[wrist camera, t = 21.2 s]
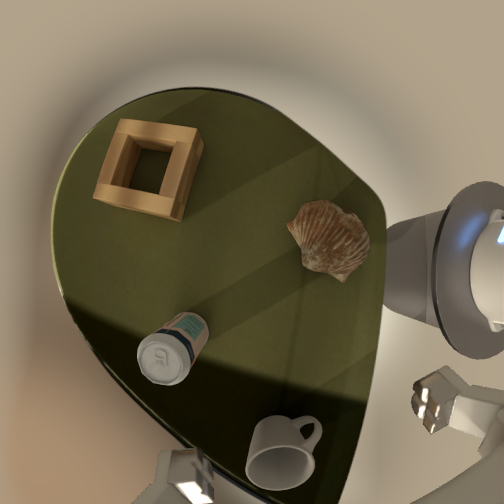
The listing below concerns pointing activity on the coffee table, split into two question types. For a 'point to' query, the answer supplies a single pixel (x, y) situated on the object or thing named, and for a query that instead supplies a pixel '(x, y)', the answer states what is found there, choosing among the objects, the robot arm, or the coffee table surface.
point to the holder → (125, 160)
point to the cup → (281, 452)
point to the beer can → (172, 349)
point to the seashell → (330, 238)
